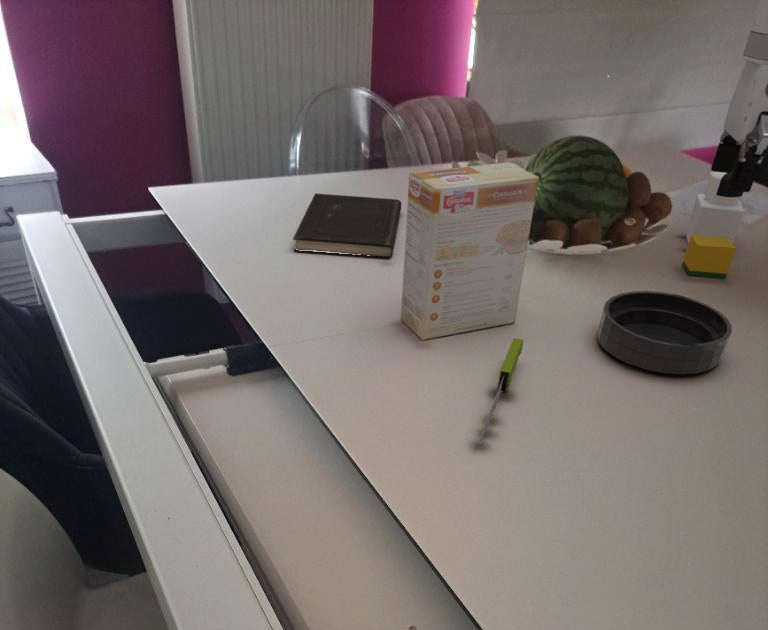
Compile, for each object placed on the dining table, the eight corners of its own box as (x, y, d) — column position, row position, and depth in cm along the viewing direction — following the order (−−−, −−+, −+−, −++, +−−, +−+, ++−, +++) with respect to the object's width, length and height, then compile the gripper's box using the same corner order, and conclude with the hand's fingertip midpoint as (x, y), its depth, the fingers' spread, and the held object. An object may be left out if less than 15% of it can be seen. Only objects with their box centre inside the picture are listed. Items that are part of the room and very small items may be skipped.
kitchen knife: (480, 464, 79) (483, 443, 77) (469, 462, 79) (472, 440, 77) (520, 357, 94) (524, 336, 92) (511, 355, 95) (514, 334, 92)
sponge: (718, 268, 123) (728, 237, 119) (725, 278, 119) (736, 248, 116) (681, 265, 123) (691, 234, 120) (687, 275, 119) (697, 245, 116)
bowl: (703, 326, 105) (714, 296, 102) (734, 383, 93) (747, 351, 90) (589, 316, 106) (596, 286, 103) (604, 372, 94) (613, 340, 91)
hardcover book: (293, 252, 119) (293, 237, 118) (315, 206, 137) (315, 193, 136) (392, 259, 119) (392, 245, 117) (401, 212, 137) (401, 199, 135)
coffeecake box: (489, 303, 108) (510, 160, 95) (516, 324, 103) (542, 176, 90) (398, 319, 103) (407, 170, 90) (421, 341, 98) (435, 187, 85)
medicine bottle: (725, 238, 134) (749, 168, 126) (730, 252, 128) (756, 179, 121) (684, 233, 135) (706, 163, 127) (688, 247, 129) (710, 175, 122)
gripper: (824, 63, 94) (771, 201, 105) (781, 42, 108) (738, 167, 119) (765, 58, 95) (718, 196, 106) (729, 38, 108) (691, 163, 119)
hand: (729, 181), depth 112 cm, fingers open, 9 cm apart
